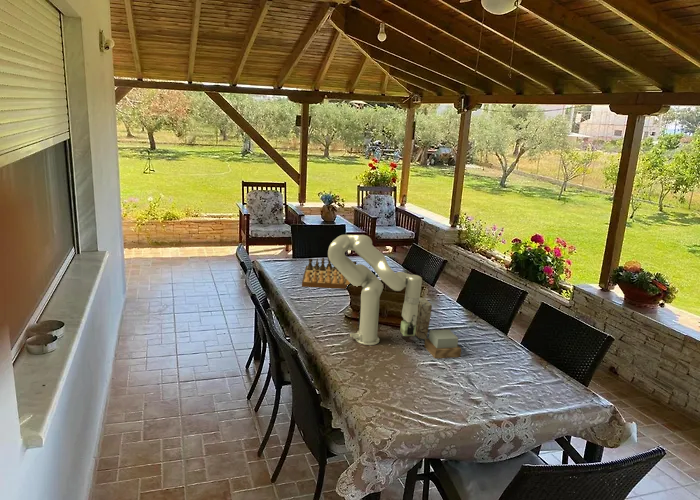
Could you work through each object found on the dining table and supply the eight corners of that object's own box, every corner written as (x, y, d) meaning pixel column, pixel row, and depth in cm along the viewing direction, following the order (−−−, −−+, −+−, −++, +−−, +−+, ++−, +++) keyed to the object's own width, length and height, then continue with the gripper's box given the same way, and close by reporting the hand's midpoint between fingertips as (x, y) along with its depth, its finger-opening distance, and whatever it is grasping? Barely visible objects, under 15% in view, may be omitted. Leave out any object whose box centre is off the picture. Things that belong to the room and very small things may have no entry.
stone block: (430, 339, 283) (433, 304, 278) (418, 339, 281) (421, 305, 276) (419, 329, 295) (423, 295, 290) (408, 330, 293) (411, 296, 288)
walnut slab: (434, 359, 260) (435, 350, 259) (424, 347, 273) (424, 338, 272) (460, 357, 264) (461, 348, 263) (448, 345, 277) (449, 337, 276)
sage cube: (404, 336, 267) (405, 325, 265) (399, 331, 272) (401, 320, 271) (414, 335, 268) (416, 325, 267) (410, 331, 274) (412, 320, 272)
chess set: (360, 290, 356) (361, 269, 352) (301, 287, 355) (302, 266, 351) (358, 273, 395) (360, 254, 391) (305, 270, 394) (306, 251, 390)
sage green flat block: (436, 348, 261) (438, 339, 260) (428, 339, 272) (429, 330, 270) (457, 347, 264) (458, 338, 263) (448, 338, 274) (449, 329, 273)
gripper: (399, 293, 272) (395, 325, 277) (411, 305, 256) (406, 339, 261) (412, 293, 274) (408, 324, 279) (425, 305, 258) (420, 338, 263)
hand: (407, 331), depth 270 cm, fingers closed on sage cube, 6 cm apart
